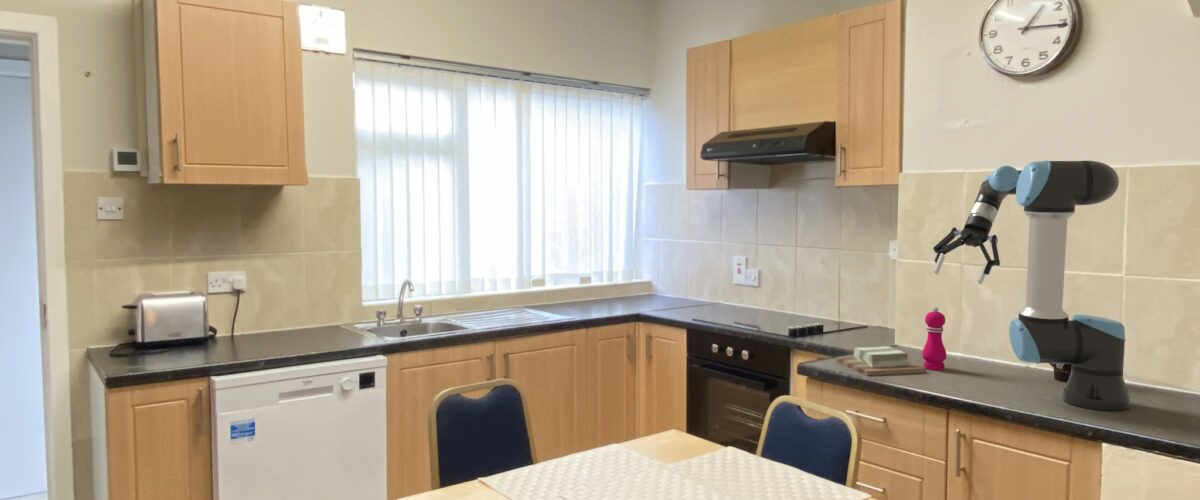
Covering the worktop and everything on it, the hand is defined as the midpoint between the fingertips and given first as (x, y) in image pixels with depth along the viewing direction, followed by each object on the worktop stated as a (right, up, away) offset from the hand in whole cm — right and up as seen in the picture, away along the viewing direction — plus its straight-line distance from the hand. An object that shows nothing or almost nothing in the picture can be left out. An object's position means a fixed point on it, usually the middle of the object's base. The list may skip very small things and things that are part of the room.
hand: (956, 277), depth 241 cm
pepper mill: (-6, -30, +4) cm, 30 cm away
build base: (-22, -29, +6) cm, 37 cm away
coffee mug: (+27, -31, -11) cm, 42 cm away
